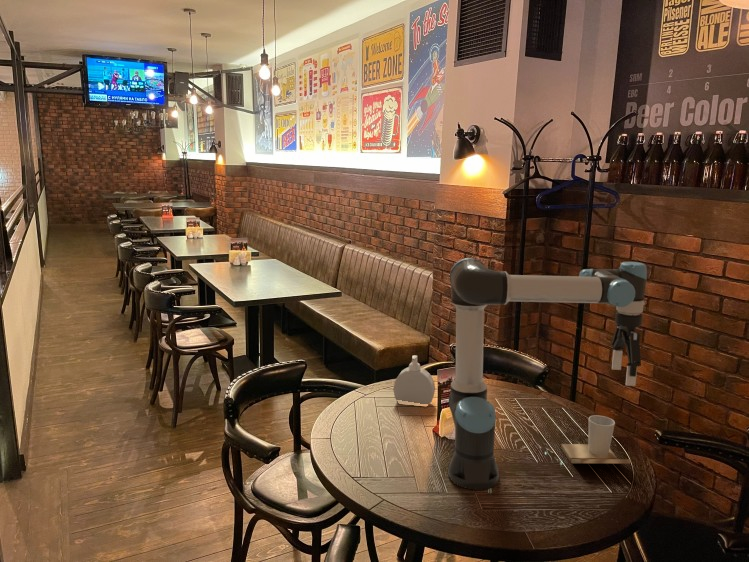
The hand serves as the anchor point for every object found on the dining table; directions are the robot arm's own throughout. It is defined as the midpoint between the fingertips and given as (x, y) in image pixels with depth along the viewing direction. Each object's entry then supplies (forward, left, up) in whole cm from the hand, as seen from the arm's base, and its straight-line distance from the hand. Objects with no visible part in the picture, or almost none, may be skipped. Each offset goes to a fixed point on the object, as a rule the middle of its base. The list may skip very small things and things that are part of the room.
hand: (623, 377), depth 177 cm
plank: (-8, -9, -25) cm, 28 cm away
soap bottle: (-64, +40, -28) cm, 80 cm away
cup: (-5, +1, -27) cm, 28 cm away
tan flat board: (-8, +1, -27) cm, 29 cm away
